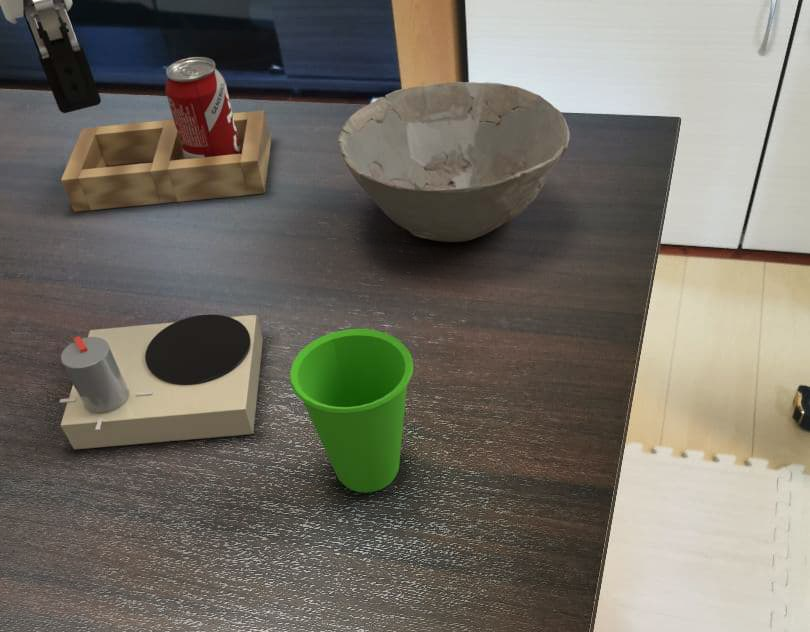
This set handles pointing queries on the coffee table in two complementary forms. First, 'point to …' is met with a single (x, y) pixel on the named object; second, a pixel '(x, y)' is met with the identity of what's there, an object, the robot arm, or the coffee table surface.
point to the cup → (356, 402)
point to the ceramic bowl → (454, 155)
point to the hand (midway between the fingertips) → (71, 82)
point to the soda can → (201, 109)
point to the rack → (162, 165)
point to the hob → (166, 397)
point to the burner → (198, 349)
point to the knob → (95, 374)
